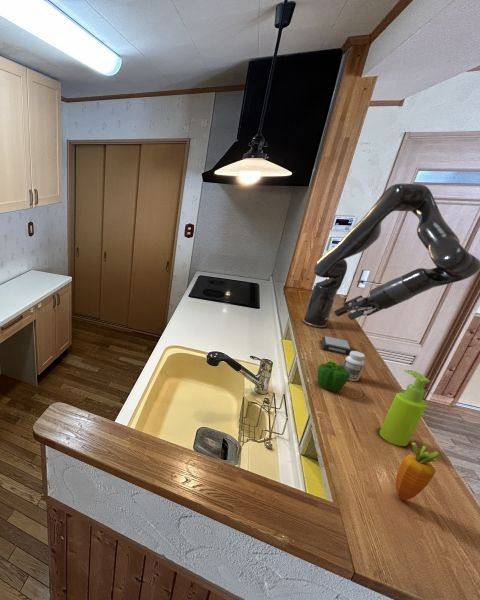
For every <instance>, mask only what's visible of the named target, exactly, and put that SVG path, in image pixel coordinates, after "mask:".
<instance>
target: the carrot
mask: <svg viewBox="0 0 480 600" xmlns="http://www.w3.org/2000/svg"><path fill="white" fill-rule="evenodd" d="M411 446H412V448H413V452H414V455H413V454H408V455H407V456H405V457H404V458H403V459H402V460H401V462H400V465H399V467H398V469H397V471H396V476H395V477H396V478H395V490H396V494H397V497H398V499H399V500H401V501H408V500H411V499H413V498H415V497H416V496H418V495H419V494H420V493H421V492H422V491H423V490H424V489H425V488H427V486H428V485H429V483H430V482H431V481H432V479H433V477H434V476H435V474H436V472H437V470H436V468H435V467H434V466H433V464H432V463H433V462H437V459H436V458H438V457H440V456H441V454H440V452H439V451H433V452H431V453H429V452H428V451H427V449H428V446H427V445H422V448H421V450H419V446H418V445H417V444H416V442H411Z"/></svg>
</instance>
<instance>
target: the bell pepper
mask: <svg viewBox="0 0 480 600" xmlns="http://www.w3.org/2000/svg"><path fill="white" fill-rule="evenodd" d="M326 361H327V362H326V363H321V364H320V365H319V366H318V368H317V375H316V376H317V377H316V378H317V384H318V386H319V387H320V388H322V389H327V390H329V391H331V392H339V391H341V390H342V389H343V388H344V387H345V386H346V384H347V383H348V381H349V380H348V379H349V377H350V375H349V372H348V371H346V369H345V368H344V367H343V365H341V364H337V362H335V361H334V360H331V359H330V360H329V359H328V360H326Z"/></svg>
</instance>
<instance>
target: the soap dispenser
mask: <svg viewBox="0 0 480 600" xmlns="http://www.w3.org/2000/svg"><path fill="white" fill-rule="evenodd" d="M404 372H405V373H407V374H409V375H410V376H412V377H414V378H415V379H414V382H413V384H412V383H411V384H408V385H407V386H406V388H405V390H404V392H397V393H396V394H395V397H394V398H393V401H392V403H391V405H390V407H389V410H388V411H387V414H386V416H385V418H384V421H383V423H382V425H381V427H380V429H379V436H380V437H381V438H382V439H384V440H385V441H386V442H388V443H390V444H392V445H395V446H399V447H406V446H408V445H409V443H410V441H411V439H412V437H413V435H414V433H415V430H416V429H417V427H418V426H419V422H420V421H421V418H422V417H423V414H425V413H424V412H425V411H426V409H427V407H428V403H427V402H426V400H424V396H425V394H426V391H427V390H426V389H425V388H424V386H425V384H430V383H431V380H430V379H429V378H427V377H426V376H424V375H423V374H421V373H419V372H418V371H415V370H413V369H411V370H410V369H404Z"/></svg>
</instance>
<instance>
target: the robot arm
mask: <svg viewBox="0 0 480 600" xmlns="http://www.w3.org/2000/svg"><path fill="white" fill-rule="evenodd" d="M393 212H411V213H412V214H413V215H414V216H416V217H417V219H418V224H417V226H416V227H417V228H416V234H417V237H418V239H419V241H420V243H422V245H423V246H424V248H425V249H426V250H427V252H428V254H429V257H430V259H431V261H432V263H433V264H434V265H435V267H433V268H425V267H419V268H415V269H413V270H411V271H409V272H407V273H405V274H403V275H401V276H399V277H396V278H394V279H390V280H388V281H387V282H385V283H382V284H380V285H379V286H376V287H374V288H372V289H370V290H369V295H368V296H365V297H363V295H358V296H356V297H354V298H351V299H349V300H347V301H345V302H342V305H343V306H342V307H339V308H338V309H335V310H334V311H333V313H334V315H335V316H336V317H340V316H343V315H345V314H347V313H348V314H347V317H348V319H349V320H351V321H353V320H356V319H358V318H360V317H365V316H367V317H369V316H372V315H373V314H376V313H378V312H380V311H382V310H387V309H389V308H392V307H395V306H397V305H399V304H401V303H404V302H405V301H408V300H410V299H412V298H413V297H415V296H418V295H420V294H422V293H424V292H426V291H429V290H431V289H433V288H437V287H442V286H446V285H449V284H453V283H457V282H462V281H463V280H466V279H467V280H468V279H469V278H471V277H472V276H474V275H475V274H477V273H478V272H479V271H480V259H479V258H477V257H476V256H474V255H473V254H471V253H470V252H469V251H468V250H467V249H466V248H464V247H463V246H462V244H461V241H460V239H459V237H458V236H457V234H456V233H455V232H454V230H453V229H452V228H451V227H450V226H449V225H448V223H447V222H446V220H445V219H444V217H443V216H442V213H441V211H440V209H439V207H438V204H437V202H436V200H435V198H434V195H433V193H432V190H431V189H430V188H429V187H428V186H427V185H425V184H420V183H396V184H393V185H391V186H389V187H388V188H387V189H386V190H385V191H384V192H383V193H382V194H381V195H380V197H379V198H378V199H377V200H376V202H375V203H374V204H373V205H372V207H371V208H370V210H368V212H366V214H365V215H364V216H363V217H362V218H361V219H360V220H359V221H358V222H357V223H356V225H354V226H353V227H352V228H351V229H350V230H349V231H348V232H347V233H346V234H345V236H344V237H343V238H342V239H341V240H340V241H338V243H336V245H334V247H332V248H331V249H330V250H329V251H328V252H326V253H325V254H324V255H323V256H321V257H320V258H318V260H317V261H316V263H315V265H314V267H313V272H314V274H315V275H316V277H320V278H325V279H324V280H321V281H318V282H315V283H314V285H313V287H312V292H311V295H310V298H309V302H308V304H307V309H306V311H305V315H304V318H303V320H302V321H303V323H304V324H306V325H308V326H311V327H314V328H326V327H327V324H328V321H329V320H330V319H331V316H330V315H331V312H332V309H333V306H334V303H335V299H336V296H337V293H338V291H339V289H340V288H341V286H342V284H343V281H344V278H345V276H346V274H347V271H348V262H347V260H346V259H348V258H350V257H353V256H356V255H358V254H360V253H362V252H364V251H366V250H367V249H368V248H370V247H371V246H372V245H373V244H374V243H376V241H377V240H378V239H379V238H380V237H381V234H382V223H383V221H384V220H385V219H386V218H387V217H388V216H389V215H390V214H391V213H393ZM349 312H351V313H349Z"/></svg>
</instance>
